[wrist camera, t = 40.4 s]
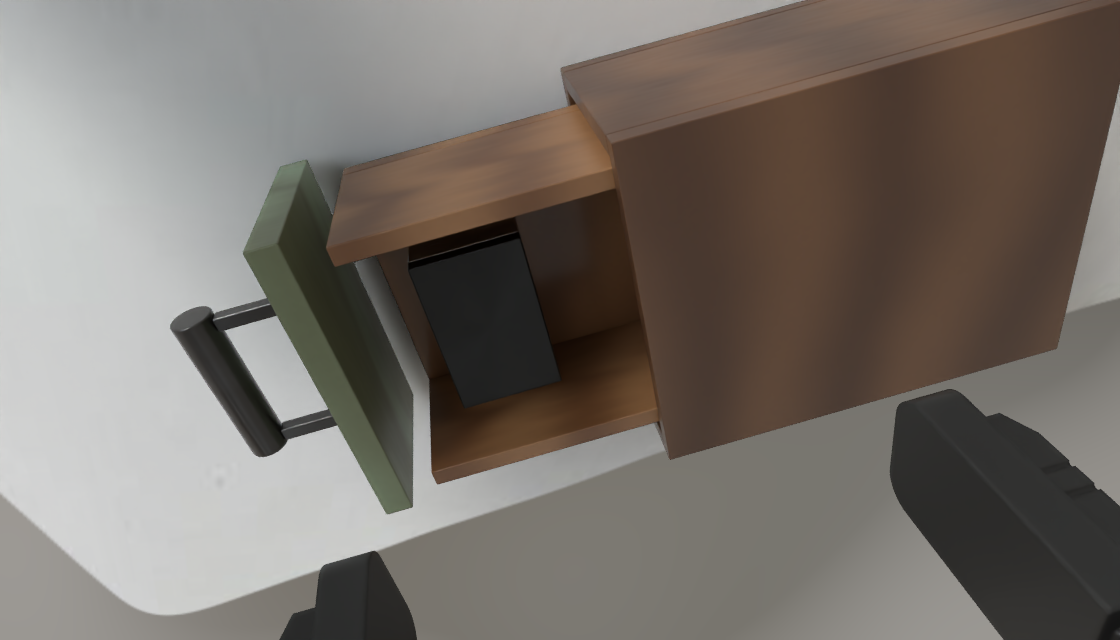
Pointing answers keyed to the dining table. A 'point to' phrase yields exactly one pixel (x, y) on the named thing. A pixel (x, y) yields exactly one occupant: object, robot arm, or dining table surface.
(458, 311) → the black lidded box
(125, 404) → the dining table surface
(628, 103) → the cabinet
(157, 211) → the dining table surface
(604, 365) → the drawer
